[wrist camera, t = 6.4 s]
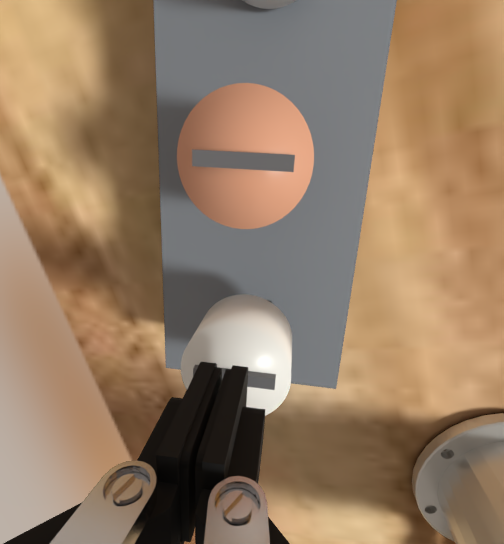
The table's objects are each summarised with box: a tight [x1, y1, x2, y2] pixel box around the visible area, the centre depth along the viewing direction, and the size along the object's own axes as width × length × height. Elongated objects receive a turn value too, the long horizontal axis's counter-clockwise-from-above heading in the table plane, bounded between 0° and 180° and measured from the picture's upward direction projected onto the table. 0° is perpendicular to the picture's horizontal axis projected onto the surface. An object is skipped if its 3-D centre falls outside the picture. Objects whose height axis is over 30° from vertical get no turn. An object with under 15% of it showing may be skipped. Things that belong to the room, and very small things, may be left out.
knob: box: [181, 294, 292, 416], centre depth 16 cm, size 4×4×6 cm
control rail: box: [153, 0, 397, 389], centre depth 18 cm, size 24×10×5 cm, turn 177°
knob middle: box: [177, 83, 314, 229], centre depth 13 cm, size 4×4×6 cm
